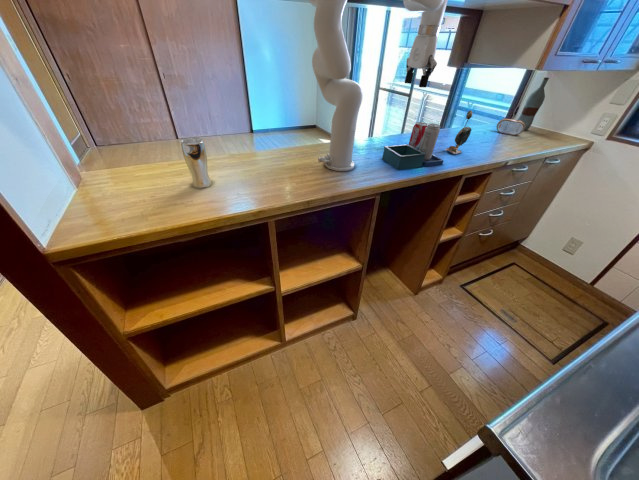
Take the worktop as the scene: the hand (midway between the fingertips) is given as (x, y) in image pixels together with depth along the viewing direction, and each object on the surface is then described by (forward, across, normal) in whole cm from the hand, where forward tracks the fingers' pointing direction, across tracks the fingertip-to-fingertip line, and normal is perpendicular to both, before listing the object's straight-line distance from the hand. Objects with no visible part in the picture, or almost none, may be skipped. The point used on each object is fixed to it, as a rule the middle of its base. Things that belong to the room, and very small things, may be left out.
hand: (414, 85), depth 108 cm
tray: (+29, +8, +9) cm, 32 cm away
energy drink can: (+29, +8, +9) cm, 31 cm away
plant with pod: (+29, +2, +33) cm, 44 cm away
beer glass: (+31, +9, -88) cm, 93 cm away
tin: (+28, -17, +94) cm, 100 cm away
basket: (+29, +9, -4) cm, 31 cm away
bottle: (+28, -25, +116) cm, 122 cm away
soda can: (+29, -7, +15) cm, 34 cm away
